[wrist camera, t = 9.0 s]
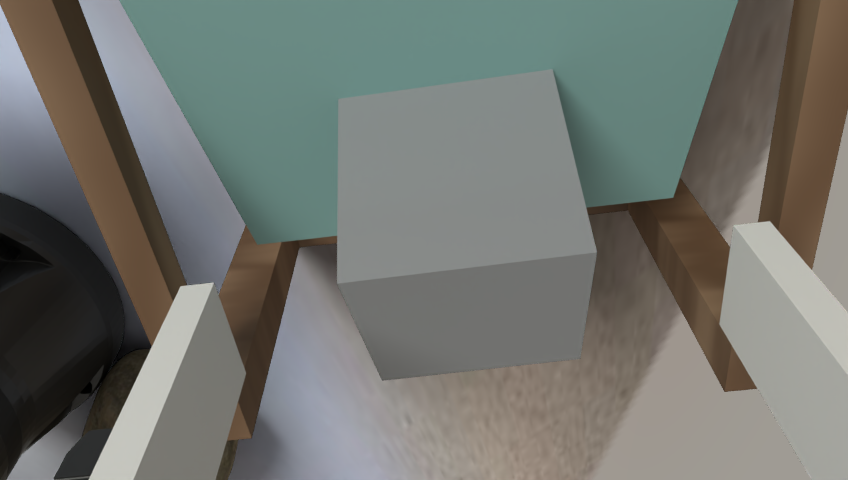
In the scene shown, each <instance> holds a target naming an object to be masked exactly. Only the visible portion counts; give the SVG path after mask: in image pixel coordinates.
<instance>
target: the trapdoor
mask: <svg viewBox="0 0 848 480" xmlns="http://www.w3.org/2000/svg"><path fill="white" fill-rule="evenodd" d="M119 1H120V2H121V4H122V6H123V8H124V10H125V11H126V13H127V15H128V17H129V18H130V20H131V22H132V24H133V26H134V27H135V29H136V31H137V33H138V34H139V36H140V38H141V40H142V41H143V43H144V45H145V47H146V49H147V50H148V52H149V54H150V56H151V57H152V59H153V61H154V63H155V64H156V66H157V68H158V70H159V72H160V73H161V75H162V77H163V79H164V80H165V82H166V84H167V86H168V88H169V89H170V91H171V93H172V95H173V96H174V98H175V100H176V102H177V103H178V105H179V107H180V109H181V111H182V112H183V114H184V116H185V118H186V119H187V121H188V123H189V125H190V126H191V128H192V130H193V132H194V134H195V135H196V137H197V139H198V141H199V142H200V144H201V146H202V148H203V150H204V151H205V153H206V155H207V157H208V158H209V160H210V162H211V164H212V165H213V167H214V169H215V171H216V173H217V174H218V176H219V178H220V180H221V181H222V183H223V185H224V187H225V188H226V190H227V192H228V194H229V196H230V197H231V199H232V201H233V203H234V204H235V206H236V208H237V210H238V212H239V213H240V215H241V217H242V219H243V220H244V222H245V224H246V226H247V227H248V229H249V231H250V233H251V235H252V236H253V238H254V240H255V242H256V243H257V245H259V244H268V243H277V242H286V241H295V240H304V239H313V238H321V237H330V236H337V210H338V99H341V98H348V97H355V96H363V95H370V94H377V93H384V92H391V91H399V90H406V89H413V88H420V87H427V86H435V85H442V84H449V83H456V82H463V81H471V80H478V79H485V78H492V77H500V76H507V75H514V74H521V73H528V72H536V71H543V70H550V69H553V73H554V77H555V81H556V85H557V89H558V93H559V98H560V102H561V106H562V110H563V114H564V118H565V122H566V126H567V130H568V135H569V139H570V143H571V147H572V151H573V155H574V159H575V163H576V168H577V172H578V176H579V180H580V184H581V188H582V192H583V196H584V200H585V205H586V208H587V207H596V206H605V205H614V204H623V203H631V202H640V201H649V200H658V199H667V198H673V197H674V194H675V191H676V188H677V185H678V182H679V179H680V175H681V172H682V169H683V166H684V163H685V160H686V157H687V154H688V151H689V148H690V145H691V142H692V139H693V136H694V133H695V130H696V127H697V124H698V121H699V118H700V115H701V112H702V109H703V106H704V103H705V100H706V97H707V94H708V90H709V87H710V84H711V81H712V78H713V75H714V72H715V69H716V66H717V63H718V60H719V57H720V54H721V51H722V48H723V45H724V42H725V39H726V36H727V33H728V30H729V27H730V24H731V21H732V18H733V15H734V12H735V8H736V5H737V2H738V0H119Z"/></svg>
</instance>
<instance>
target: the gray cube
mask: <svg viewBox="0 0 848 480" xmlns="http://www.w3.org/2000/svg"><path fill="white" fill-rule="evenodd" d="M596 256H597V250H596V246H595V242H594V237H593V233H592V229H591V225H590V221H589V217H588V213H587V209H586V205H585V200H584V196H583V192H582V188H581V184H580V180H579V176H578V172H577V168H576V163H575V159H574V155H573V151H572V147H571V143H570V139H569V135H568V130H567V126H566V122H565V118H564V114H563V110H562V106H561V102H560V98H559V93H558V89H557V85H556V81H555V77H554V73H553V69H550V70H543V71H536V72H528V73H521V74H514V75H507V76H500V77H492V78H485V79H478V80H471V81H463V82H456V83H449V84H442V85H435V86H427V87H420V88H413V89H406V90H399V91H391V92H384V93H377V94H370V95H363V96H355V97H348V98H341V99H338V210H337V285H338V287H339V289H340V291H341V293H342V295H343V298H344V300H345V302H346V304H347V306H348V308H349V311H350V313H351V315H352V317H353V319H354V321H355V323H356V326H357V328H358V330H359V332H360V334H361V336H362V338H363V341H364V343H365V345H366V347H367V349H368V351H369V353H370V356H371V358H372V360H373V362H374V364H375V366H376V368H377V371H378V373H379V375H380V377H381V379H382V381H383V380H392V379H401V378H410V377H419V376H428V375H437V374H446V373H456V372H465V371H474V370H483V369H492V368H501V367H510V366H519V365H528V364H538V363H547V362H556V361H565V360H574V359H580V357H581V350H582V344H583V338H584V331H585V325H586V319H587V313H588V306H589V300H590V294H591V288H592V281H593V275H594V269H595V263H596Z"/></svg>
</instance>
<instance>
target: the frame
mask: <svg viewBox="0 0 848 480" xmlns="http://www.w3.org/2000/svg"><path fill="white" fill-rule="evenodd" d="M0 5H1V7H2V9H3V12H4V14H5V16H6V18H7V21H8V23H9V25H10V27H11V30H12V32H13V34H14V37H15V39H16V41H17V43H18V46H19V48H20V50H21V52H22V55H23V57H24V59H25V61H26V64H27V66H28V68H29V70H30V73H31V75H32V77H33V79H34V82H35V84H36V86H37V88H38V91H39V93H40V95H41V98H42V100H43V102H44V104H45V107H46V109H47V111H48V113H49V116H50V118H51V120H52V122H53V125H54V127H55V129H56V131H57V134H58V136H59V138H60V140H61V143H62V145H63V147H64V149H65V152H66V154H67V156H68V158H69V161H70V163H71V165H72V168H73V170H74V172H75V174H76V177H77V179H78V181H79V183H80V186H81V188H82V190H83V192H84V195H85V197H86V199H87V201H88V204H89V206H90V208H91V210H92V213H93V215H94V217H95V219H96V222H97V224H98V226H99V228H100V231H101V233H102V235H103V238H104V240H105V242H106V244H107V247H108V249H109V251H110V253H111V256H112V258H113V260H114V262H115V265H116V267H117V269H118V271H119V274H120V276H121V278H122V280H123V283H124V285H125V287H126V289H127V292H128V294H129V296H130V299H131V301H132V303H133V305H134V308H135V310H136V312H137V314H138V317H139V319H140V321H141V323H142V326H143V328H144V330H145V332H146V335H147V337H148V339H149V341H150V344H151V346H152V345H153V343H154V341H155V339H156V337H157V335H158V333H159V331H160V329H161V326H162V324H163V322H164V320H165V318H166V316H167V314H168V312H169V310H170V308H171V305H172V303H173V301H174V299H175V297H176V295H177V293H178V291H179V289H180V286H187V284H186V281H185V279H184V276H183V273H182V271H181V268H180V266H179V263H178V260H177V258H176V255H175V252H174V250H173V247H172V245H171V242H170V239H169V237H168V234H167V231H166V229H165V226H164V224H163V221H162V218H161V216H160V213H159V211H158V208H157V205H156V203H155V200H154V197H153V195H152V192H151V190H150V187H149V184H148V182H147V179H146V176H145V174H144V171H143V169H142V166H141V163H140V161H139V158H138V156H137V153H136V150H135V148H134V145H133V142H132V140H131V137H130V135H129V132H128V129H127V127H126V124H125V122H124V119H123V116H122V114H121V111H120V108H119V106H118V103H117V101H116V98H115V95H114V93H113V90H112V87H111V85H110V82H109V80H108V77H107V74H106V72H105V69H104V67H103V64H102V61H101V59H100V56H99V53H98V51H97V48H96V46H95V43H94V40H93V38H92V35H91V33H90V30H89V27H88V25H87V22H86V19H85V17H84V14H83V12H82V9H81V6H80V4H79V1H78V0H0ZM847 110H848V0H794V5H793V11H792V17H791V23H790V30H789V36H788V42H787V48H786V54H785V60H784V66H783V72H782V78H781V85H780V91H779V97H778V103H777V109H776V115H775V121H774V127H773V133H772V140H771V146H770V152H769V158H768V164H767V170H766V176H765V182H764V188H763V195H762V201H761V207H760V214H759V219H758V222H767V221H770V222H771V223H772V224H773V226H774V227H775V228H776V229H777V230H778V231H779V233H780V234H781V235H782V236H783V237H784V238H785V240H786V241H787V242H788V243H789V244H790V245H791V247H792V248H793V249H794V250H795V251H796V252H797V254H798V255H799V256H800V257H801V258H802V259H803V261H804V262H805V263H806V264H807V265H808V266H809V268H810V269H811V270H812V267H813V263H814V258H815V254H816V250H817V245H818V241H819V236H820V232H821V227H822V222H823V218H824V214H825V208H826V204H827V200H828V196H829V191H830V187H831V182H832V177H833V173H834V169H835V164H836V160H837V155H838V151H839V146H840V142H841V137H842V133H843V128H844V124H845V119H846V115H847ZM586 209H587V213H588V215H591V214H600V213H609V212H618V211H627V210H628V211H629V213H630V215H631V217H632V219H633V221H634V223H635V225H636V226H637V228H638V230H639V232H640V234H641V236H642V238H643V240H644V241H645V243H646V245H647V247H648V249H649V251H650V253H651V255H652V256H653V258H654V260H655V262H656V264H657V266H658V268H659V270H660V271H661V273H662V275H663V277H664V279H665V281H666V283H667V285H668V286H669V288H670V290H671V292H672V294H673V296H674V298H675V300H676V301H677V303H678V305H679V307H680V309H681V311H682V313H683V315H684V317H685V318H686V320H687V322H688V324H689V326H690V328H691V330H692V332H693V333H694V335H695V337H696V339H697V341H698V343H699V345H700V346H701V348H702V350H703V352H704V354H705V356H706V358H707V360H708V362H709V363H710V365H711V367H712V369H713V371H714V373H715V375H716V376H717V378H718V380H719V382H720V384H721V386H722V388H723V390H724V391H725V392H728V391H738V390H748V389H757V387H756V385H755V384H754V382H753V380H752V379H751V377H750V375H749V374H748V372H747V370H746V369H745V367H744V365H743V363H742V362H741V360H740V358H739V357H738V355H737V353H736V352H735V350H734V348H733V347H732V345H731V343H730V342H729V340H728V338H727V336H726V335H725V333H724V331H723V330H722V328H721V326H720V325H719V323H720V316H721V309H722V302H723V295H724V288H725V281H726V274H727V267H728V260H729V252H730V247H729V245H728V244H727V242H726V241H725V240H724V238H723V237H722V235H721V234H720V233H719V231H718V230H717V228H716V227H715V226H714V224H713V223H712V222H711V220H710V219H709V217H708V216H707V215H706V213H705V212H704V210H703V209H702V208H701V206H700V205H699V203H698V202H697V201H696V199H695V198H694V196H693V195H692V194H691V192H690V191H689V189H688V188H687V187H686V185H685V184H684V183H683V181H682V180H681V178H680V179H679V182H678V185H677V188H676V191H675V194H674V197H673V198H667V199H658V200H649V201H640V202H631V203H623V204H614V205H605V206H596V207H587V208H586ZM333 243H337V236H330V237H321V238H313V239H304V240H295V241H286V242H277V243H268V244H259V245H257V243H256V242H255V240H254V238H253V236H252V235H251V233H250V231H249V229H248V227H247V226H245V229H244V231H243V234H242V236H241V239H240V241H239V244H238V246H237V249H236V252H235V254H234V257H233V259H232V262H231V264H230V267H229V270H228V272H227V275H226V277H225V280H224V282H223V285H222V288H221V290H220V293H219V298H220V301H221V303H222V306H223V309H224V312H225V315H226V318H227V320H228V323H229V326H230V329H231V332H232V334H233V337H234V340H235V343H236V346H237V349H238V351H239V354H240V357H241V360H242V363H243V365H244V368H245V371H246V376H245V379H244V383H243V386H242V390H241V393H240V397H239V400H238V403H237V407H236V410H235V414H234V417H233V421H232V424H231V428H230V431H229V435H228V438H227V441H229V440H239V439H249V438H252V435H253V431H254V427H255V423H256V419H257V415H258V411H259V407H260V403H261V399H262V395H263V391H264V387H265V383H266V379H267V375H268V371H269V367H270V363H271V359H272V355H273V351H274V347H275V343H276V339H277V335H278V331H279V327H280V323H281V319H282V315H283V311H284V307H285V303H286V299H287V295H288V291H289V287H290V283H291V279H292V275H293V271H294V267H295V263H296V259H297V255H298V251H299V247H306V246H315V245H324V244H333Z"/></svg>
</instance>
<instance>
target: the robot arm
mask: <svg viewBox="0 0 848 480" xmlns="http://www.w3.org/2000/svg"><path fill="white" fill-rule="evenodd" d="M719 325H720V326H721V328H722V330H723V331H724V333H725V335H726V336H727V338H728V340H729V342H730V343H731V345H732V347H733V348H734V350H735V352H736V353H737V355H738V357H739V358H740V360H741V362H742V363H743V365H744V367H745V369H746V370H747V372H748V374H749V375H750V377H751V379H752V380H753V382H754V384H755V385H756V387H757V389H758V391H759V392H760V394H761V395H762V397H763V399H764V400H765V402H766V404H767V406H768V407H769V409H770V411H771V413H772V414H773V416H774V418H775V419H776V421H777V423H778V424H779V426H780V428H781V429H782V431H783V433H784V434H785V436H786V438H787V440H788V441H789V443H790V445H791V446H792V448H793V450H794V451H795V453H796V455H797V456H798V458H799V460H800V462H801V463H802V465H803V467H804V468H805V470H806V472H807V473H808V475H809V477H810V478H811V480H848V312H847V311H846V310H845V308H844V307H843V306H842V305H841V304H840V303H839V301H838V300H837V299H836V298H835V297H834V296H833V294H832V293H831V292H830V291H829V290H828V289H827V287H826V286H825V285H824V284H823V283H822V282H821V280H820V279H819V278H818V277H817V276H816V275H815V273H814V272H813V271H812V270H811V269H810V268H809V266H808V265H807V264H806V263H805V262H804V261H803V259H802V258H801V257H800V256H799V255H798V254H797V252H796V251H795V250H794V249H793V248H792V247H791V245H790V244H789V243H788V242H787V241H786V240H785V238H784V237H783V236H782V235H781V234H780V233H779V231H778V230H777V229H776V228H775V227H774V226H773V224H772V223H771V222H770V221H767V222H758V223H749V224H740V225H733V232H732V239H731V245H730V252H729V260H728V267H727V274H726V281H725V288H724V295H723V302H722V309H721V316H720V323H719ZM123 335H124V313H123V307H122V303H121V300H120V296H119V294H118V291H117V289H116V286H115V284H114V282H113V280H112V279H111V277H110V275H109V274H108V272H107V270H106V269H105V267H104V266H103V265H102V263H101V262H100V261H99V259H98V258H97V257H96V256H95V254H94V253H93V252H92V251H91V250H90V249H89V248H88V247H87V246H86V245H85V244H84V243H83V242H82V241H81V240H80V239H79V238H78V237H76V236H75V235H74V234H73V233H72V232H71V231H69V230H68V229H67V228H65V227H64V226H63V225H61V224H60V223H58V222H57V221H56V220H54V219H53V218H51V217H49V216H48V215H46V214H44V213H43V212H41V211H39V210H37V209H35V208H34V207H32V206H30V205H27V204H25V203H23V202H21V201H19V200H16V199H14V198H11V197H9V196H6V195H3V194H0V480H6V479H7V478H8V476H9V474H10V473H11V471H12V469H13V468H14V466H15V464H16V463H17V461H18V459H19V458H20V456H21V455H22V454H23V453H24V452H25V451H26V450H28V449H29V448H30V447H31V446H32V445H33V444H35V443H36V442H37V441H38V440H39V439H41V438H42V437H43V436H44V435H45V434H46V433H48V432H49V431H50V430H51V429H52V428H54V427H55V426H56V425H57V424H58V423H59V422H60V421H62V420H63V419H64V418H65V417H66V416H67V415H68V414H69V412H71V411H72V410H74V409H76V408H77V407H78V406H79V405H81V404H82V403H83V402H84V401H85V400H87V399H88V398H89V397H90V396H91V395H92V394H93V393H94V392H95V390H96V389H97V388H98V387H99V385H100V384H101V383H102V381H103V379H104V378H105V376H106V374H107V372H108V371H109V369H110V367H111V365H112V363H113V361H114V359H115V357H116V356H117V354H118V352H119V349H120V347H121V344H122V340H123ZM245 376H246V371H245V368H244V365H243V363H242V360H241V357H240V354H239V351H238V349H237V346H236V343H235V340H234V337H233V334H232V332H231V329H230V326H229V323H228V320H227V318H226V315H225V312H224V309H223V306H222V303H221V301H220V298H219V295H218V292H217V289H216V287H215V284H214V283H206V284H197V285H188V286H180V289H179V291H178V293H177V295H176V297H175V299H174V301H173V303H172V305H171V308H170V310H169V312H168V314H167V316H166V318H165V320H164V322H163V324H162V326H161V329H160V331H159V333H158V335H157V337H156V339H155V341H154V343H153V345H152V348H151V350H150V352H149V354H148V356H147V358H146V360H145V362H144V364H143V366H142V369H141V371H140V373H139V375H138V377H137V379H136V381H135V383H134V385H133V387H132V390H131V392H130V394H129V396H128V398H127V400H126V402H125V404H124V406H123V409H122V411H121V413H120V415H119V417H118V419H117V421H116V423H115V425H114V427H113V428H109V429H99V430H89V431H88V432H87V433H86V434H85V435H84V436H83V437H82V438H81V439H80V440H79V442H78V443H77V444H76V445H75V446H74V447H73V448H72V449H71V450H70V451H69V452H68V453H67V454H66V456H65V458H64V460H63V462H62V464H61V466H60V468H59V470H58V472H57V473H56V475H55V477H54V480H216V476H217V473H218V469H219V466H220V463H221V459H222V456H223V452H224V449H225V445H226V442H227V438H228V435H229V431H230V428H231V424H232V421H233V417H234V414H235V410H236V407H237V403H238V400H239V397H240V393H241V390H242V386H243V383H244V379H245Z"/></svg>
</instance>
